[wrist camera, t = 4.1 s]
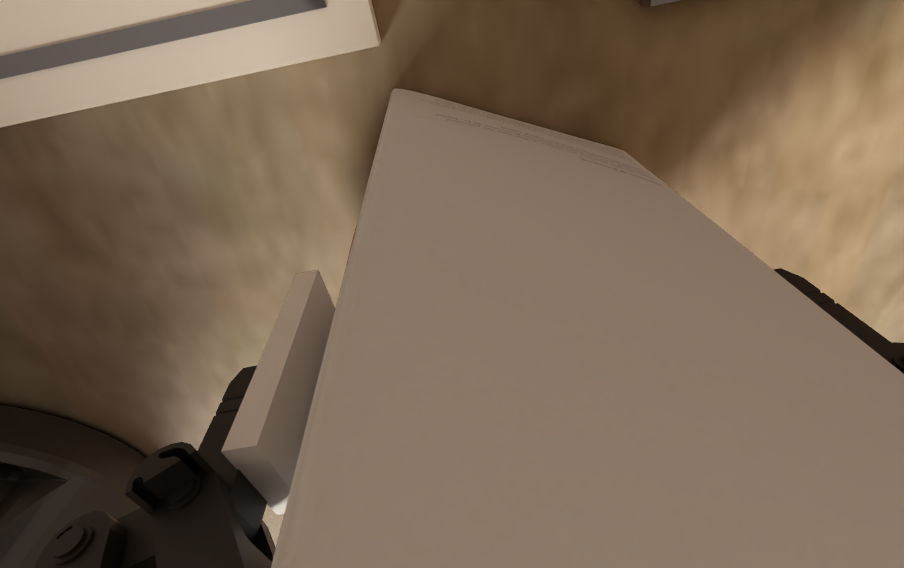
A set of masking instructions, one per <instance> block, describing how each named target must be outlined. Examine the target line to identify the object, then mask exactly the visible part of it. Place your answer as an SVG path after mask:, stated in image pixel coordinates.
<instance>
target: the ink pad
mask: <svg viewBox="0 0 904 568" xmlns="http://www.w3.org/2000/svg"><path fill="white" fill-rule="evenodd" d="M675 1H680V0H640V6H647V7H652V6H656V5H661V4H666V3H670V2H675Z"/></svg>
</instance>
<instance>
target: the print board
mask: <svg viewBox="0 0 904 568" xmlns="http://www.w3.org/2000/svg"><path fill="white" fill-rule="evenodd" d="M380 44H381V38H380V34H379V30H378V25H377V21H376V17H375V13H374V9H373V5H372V1H371V0H0V127H5V126H9V125H14V124H19V123H23V122H28V121H33V120H37V119H42V118H47V117H51V116H56V115H60V114H65V113H70V112H74V111H79V110H84V109H88V108H93V107H98V106H102V105H107V104H112V103H116V102H121V101H125V100H130V99H135V98H139V97H144V96H149V95H153V94H158V93H163V92H167V91H172V90H177V89H181V88H186V87H190V86H195V85H200V84H204V83H209V82H214V81H218V80H223V79H228V78H232V77H237V76H242V75H246V74H251V73H255V72H260V71H265V70H269V69H274V68H279V67H283V66H288V65H293V64H297V63H302V62H307V61H311V60H316V59H320V58H325V57H330V56H334V55H339V54H344V53H348V52H353V51H358V50H362V49H367V48H372V47H376V46H380Z"/></svg>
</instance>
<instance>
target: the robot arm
mask: <svg viewBox="0 0 904 568" xmlns="http://www.w3.org/2000/svg"><path fill="white" fill-rule="evenodd" d="M774 271H775V272H777V273H778V274H779V275H780V276H782V277H783V278H784V279H785V280H787V281H788V282H789V283H790V284H792V285H793V286H794V287H795V288H797V289H798V290H799V291H800V292H802V293H803V294H804V295H805V296H807V297H808V298H809V299H810V300H812V301H813V302H814V303H815V304H817V305H818V306H819V307H820V308H822V309H823V310H824V311H825V312H827V313H828V314H829V315H830V316H832V317H833V318H834V319H835V320H837V321H838V322H839V323H840V324H842V325H843V326H844V327H845V328H847V329H848V330H849V331H850V332H852V333H853V334H854V335H855V336H857V337H858V338H859V339H860V340H862V341H863V342H864V343H865V344H867V345H868V346H869V347H871V348H872V349H873V350H874V351H876V352H877V353H878V354H879V355H881V356H882V357H883V358H884V359H886V360H887V361H888V362H889V363H891V364H892V365H893V366H894V367H896V368H897V369H898V370H899V371H901V372H902V373H903V374H904V343H895V342H894V343H891V342H890V341H888V340H887V339H886V338H884V337H883V336H882V335H880V334H879V333H878V332H876V331H875V330H873V329H872V328H871V327H869V326H868V325H867V324H865V323H864V322H863V321H861V320H860V319H859V318H857V317H856V316H854V315H853V314H852V313H850V312H849V311H848V310H846V309H845V308H844V307H842V306H841V305H840V304H838V303H837V304H835V303H834V300H833V299H831V298H830V297H829V296H827V295H826V294H825V293H821V292H820V290H819V289H818V288H816V287H815V286H814V285H812V284H811V283H810V282H808V281H807V280H806V279H804V278H803V277H800V276H798V275H795V274H793V273H791V272H788V271H786V270H783V269H781V268H780V269H774ZM334 313H335V307H334V304H333V302H332V300H331V298H330V295H329V293H328V291H327V289H326V286H325V284H324V282H323V280H322V277H321V275H320V273H319V271H318V270H313V271H308V272H302V273H297V274H296V275H295V278H294V280H293V282H292V285H291V287H290V289H289V292H288V294H287V296H286V299H285V301H284V304H283V306H282V308H281V311H280V313H279V315H278V318H277V320H276V323H275V325H274V327H273V330H272V332H271V334H270V337H269V339H268V341H267V344H266V346H265V349H264V351H263V353H262V356H261V358H260V360H259V363H258V365H257V366H252V367H247V368H243V369H242V370H241V371H240V372H239V374H238V375H237V376H236V377H235V378H234V379H233V380H232V381H231V383H230V384H229V386H228V388H227V390H226V392H225V394H224V396H223V399H222V403H220V405H219V407H218V409H217V411H216V416H214V418H213V420H212V422H211V424H210V426H209V428H208V430H207V432H206V434H205V437H204V439H203V441H202V443H201V445H200V447H199V449H198V451H197V450H196V449H195V448H194V447H193V446H192V445H191V444H188V443H184V442H180V443H174V444H170V445H168V446H165V447H163V448H161V449H159V450H157V451H156V452H154V453H153V454H152V455H150V456H149V457H148V458H145V457H144V456H142V455H141V454H139V453H138V452H136V451H135V450H133V449H132V448H130V447H128V446H127V445H125V444H123V443H121V442H120V441H118V440H116V439H114V438H112V437H110V436H108V435H105V434H103V433H101V432H99V431H96V430H94V429H91V428H89V427H86V426H83V425H81V424H78V423H75V422H72V421H69V420H66V419H62V418H59V417H56V416H52V415H48V414H44V413H40V412H36V411H31V410H26V409H21V408H16V407H9V406H3V405H0V568H271V566H272V561H273V557H274V553H275V549H276V548H275V545H274V542H273V540H272V537H271V534H270V532H269V529H268V527H267V526H266V524H265V523H264V522H263V520H262V518H263V515H264V511H265V508H266V504H268V505H269V506H270V508H271V509H272V510H273V511H274V512H275V513H276V514H277V515H279V514H284V513H285V509H286V505H287V501H288V497H289V493H290V489H291V485H292V480H293V476H294V472H295V468H296V464H297V460H298V456H299V452H300V448H301V444H302V440H303V436H304V432H305V428H306V424H307V420H308V416H309V412H310V408H311V404H312V400H313V396H314V392H315V388H316V384H317V380H318V376H319V372H320V368H321V364H322V360H323V356H324V352H325V348H326V344H327V340H328V336H329V333H330V329H331V325H332V321H333V317H334Z"/></svg>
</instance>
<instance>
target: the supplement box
mask: <svg viewBox="0 0 904 568" xmlns="http://www.w3.org/2000/svg"><path fill="white" fill-rule="evenodd" d="M271 568H904V374H903V373H902V372H901V371H899V370H898V369H897V368H896V367H894V366H893V365H892V364H891V363H889V362H888V361H887V360H886V359H884V358H883V357H882V356H881V355H879V354H878V353H877V352H876V351H874V350H873V349H872V348H871V347H869V346H868V345H867V344H865V343H864V342H863V341H862V340H860V339H859V338H858V337H857V336H855V335H854V334H853V333H852V332H850V331H849V330H848V329H847V328H845V327H844V326H843V325H842V324H840V323H839V322H838V321H837V320H835V319H834V318H833V317H832V316H830V315H829V314H828V313H827V312H825V311H824V310H823V309H822V308H820V307H819V306H818V305H817V304H815V303H814V302H813V301H812V300H810V299H809V298H808V297H807V296H805V295H804V294H803V293H802V292H800V291H799V290H798V289H797V288H795V287H794V286H793V285H792V284H790V283H789V282H788V281H787V280H785V279H784V278H783V277H782V276H780V275H779V274H778V273H777V272H775V271H774V270H773V269H772V268H770V267H769V266H768V265H767V264H765V263H764V262H763V261H762V260H760V259H759V258H758V257H757V256H755V255H754V254H753V253H752V252H750V251H749V250H748V249H747V248H746V247H744V246H743V245H742V244H741V243H739V242H738V241H737V240H736V239H734V238H733V237H732V236H731V235H729V234H728V233H727V232H725V231H724V230H723V229H722V228H720V227H719V226H718V225H717V224H715V223H714V222H713V221H712V220H710V219H709V218H708V217H707V216H705V215H704V214H703V213H702V212H700V211H699V210H698V209H697V208H695V207H694V206H693V205H692V204H690V203H689V202H688V201H687V200H685V199H684V198H683V197H681V196H680V195H679V194H677V193H676V192H675V191H674V190H673V189H672V188H670V187H669V186H668V185H667V184H665V183H664V182H663V181H661V180H660V179H659V178H658V177H656V176H655V175H654V174H653V173H651V172H650V171H649V170H648V169H646V168H645V167H644V166H642V165H641V164H640V163H639V162H638V161H636V160H635V159H634V158H633V157H632V156H630V155H629V154H628V153H627V152H625V151H623V150H620V149H617V148H614V147H611V146H607V145H603V144H600V143H596V142H593V141H589V140H586V139H582V138H579V137H575V136H572V135H568V134H565V133H561V132H558V131H554V130H550V129H547V128H543V127H540V126H536V125H533V124H529V123H526V122H522V121H519V120H515V119H511V118H508V117H504V116H501V115H497V114H494V113H490V112H487V111H483V110H480V109H476V108H473V107H469V106H466V105H462V104H459V103H455V102H452V101H449V100H445V99H442V98H438V97H434V96H430V95H427V94H423V93H419V92H415V91H410V90H406V89H397V88H396V89H394V90H392V92H391V95H390V99H389V104H388V108H387V111H386V115H385V119H384V123H383V126H382V130H381V134H380V138H379V142H378V145H377V148H376V152H375V156H374V160H373V164H372V168H371V172H370V176H369V180H368V183H367V187H366V191H365V195H364V199H363V203H362V207H361V211H360V215H359V219H358V223H357V226H356V229H355V233H354V237H353V240H352V244H351V248H350V252H349V257H348V261H347V265H346V269H345V273H344V277H343V281H342V285H341V289H340V293H339V297H338V301H337V305H336V309H335V313H334V317H333V321H332V325H331V329H330V333H329V336H328V340H327V344H326V348H325V352H324V356H323V360H322V364H321V368H320V372H319V376H318V380H317V384H316V388H315V392H314V396H313V400H312V404H311V408H310V412H309V416H308V420H307V424H306V428H305V432H304V436H303V440H302V444H301V448H300V452H299V456H298V460H297V464H296V468H295V472H294V476H293V480H292V485H291V489H290V493H289V497H288V501H287V505H286V509H285V513H284V517H283V521H282V525H281V529H280V533H279V537H278V541H277V545H276V549H275V553H274V557H273V561H272V566H271Z"/></svg>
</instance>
